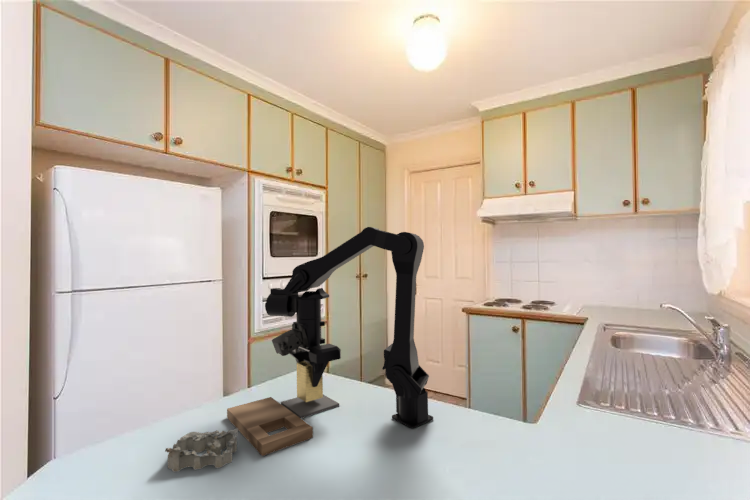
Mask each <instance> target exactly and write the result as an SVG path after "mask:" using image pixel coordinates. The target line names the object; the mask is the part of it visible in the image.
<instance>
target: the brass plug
mask: <svg viewBox="0 0 750 500" xmlns="http://www.w3.org/2000/svg"><path fill="white" fill-rule="evenodd" d="M323 379H324V378H323V374H322V377H321V379H320V381H319V383H318V386H317V387H313V386H312V381H311V374H310V366H309V364H308V363H306V362H305V361H302V362H298V363H297V362H296V397H298V398H300V399H301V400H303V401H305V402H309V401H312V400H316V399H319V398H322V397H323V395H324V394H323V393H324V389H323V387H324V386H323V383H324V382H323Z"/></svg>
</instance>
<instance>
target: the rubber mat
mask: <svg viewBox="0 0 750 500" xmlns="http://www.w3.org/2000/svg"><path fill="white" fill-rule="evenodd" d="M280 404H281V405H283V406H284V407H286V408H287V409H288V410H290V411H291V412H292V413H294V414H295V415H297V416H298V417H299V418H301V419H304V418H307V417H310V416H313V415H317V414H319V413H322V412H325V411H329V410H332V409H335V408H338V407H340V403H339V402H338V401H335V400H334V399H332V398H330V397H329V396H327V395H325V394H323V397H322V398H319V399H316V400H312V401H309V402H305V401H303V400H301V399H300V398H298V397H297V396H296V397H293V398H289V399H287V400H283V401H280Z"/></svg>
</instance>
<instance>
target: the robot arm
mask: <svg viewBox="0 0 750 500" xmlns="http://www.w3.org/2000/svg"><path fill="white" fill-rule="evenodd" d="M424 243H425V242H424V240H423V239H422V238H421V237H420V235H417V234H416V233H413V232H412V233H411V232H406V231H401V232H399V233H397V234H396V233H394V232H393V233H392V232H388V231H386V230H381V229H380V228H377V227H372V226H367V227H365V228H363V229H362V230H361V231H360V232H359V233H357V234H356V235H354V236H353V237H351V238H349V239H348V240H346V241H345V242H343V243H342V244H340V245H339V246H337V247H335V248H334V249H332V250H331V251H330V252H328V253H326V254H324V255H323V256H320V257H318V258H316V259H311V260H307V261H306V262H304V263H302V264H299V265H297V266H295V267H294V268H293V269H292V274H291V278H290V279H289V281H288V282H287V284H286V285H285V287H284V288H281V287H273V288H270V291H269V292H270V293H269V294H268V296H267V297H266V299H265V300H266V302H265V303H264V309H265V312H266V314H267V315H268V316H270V317H285V318H286V317H289V318H292V317H294V316H295V315H296V321H293V322H292V325H291V329H290V330H288V331H285V332H283V333H282V334H279V335H277V336H276V337H274V338H272V340H271V342H272V343H271V344H272V345H273V348H274V350H275V352H276V354H279V355H280V356H281V357H285V356H288V355H290V356H291V357H292V358H294V359H295V362H296V364H297V363H298V362H302V361H305V362H306V363H308V364H309V366H310V374H311V381H312V386H313V387H317V386H318V383H319V381H320V379H321V377H322V375H323V374H324V372H325V369H326V368H327V366H328V364H329V363H330V362H332V361H337V360H341V358H342V352H341V351H342V349H341V348H340V347H339V346H337V345H335V344H332V343H326V339H325V338H323V337H322V327H325V324H326V323H325V321H324V320H322V303H321V302H322V300H323V299H324V300H325V299H327V298H330V294H328V293H327V292H326V291H325V290H324V288H323V287H321V286H322V284H324V283H326V281H327V280H328V279H329V278H330V277H331V275H332V274H333V273H334V272H335V271H336V270H338V269H340V268H341V267H343V266H344V265H346V264H347V263H349V262H350V261H352V260H354V259H355V258H357V257H358V256H360V255H362V254H364V253H365V252H367V251H368V250H370V249H371V248H373V247H377V248H379V249H382V250H386V251H389V252H391V253H390V254H391V257H392V258H391V260H392V263H393V268H394V271H395V274H396V277H395V278H396V280H395V281H396V282H395V299H394V300H395V302H394V304H395V305H394V324H393V327H394V328H393V341H392V343H391V344H390V345H388V346H387V347H386V348H385V349H383V360H384V361H383V362H384V363H383V366H382V371H383V370H385V377H386V379H387V380H388V381H389V383H391V384H392V388H393V391H394V393H395V398H396V399H395V407H396V409H395V411H396V413H394V414H392V415H391V419H392V420H395V421H397V422H398V423H400V424H402V425H405V426H407V427H408V428H410V429H415V428H417V427H420V426H421V425H424V424H426V423H429V422H431V421H433V420H434V416H432V415H429V397H428V394H429V392H428V391H426V389H425V386H426V385H427V384H428V380H429V378H430V375H429V374H428V373H427V372H426V371H425V370H424V369H423V367H422V366H421V365H420V364H419V355H418V350H417V346H416V342H415V338H414V336H415V313H416V310H415V309H416V296H417V295H416V294H417V291H416V289H417V287H416V286H417V275H418V271H419V268H420V266H421V262H422V259H423V253H424V250H425V245H424ZM319 287H321V288H319ZM315 288H317V289H316V290H315V291H314V290H310V289H315ZM299 293H302V294H299Z"/></svg>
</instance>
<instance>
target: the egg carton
mask: <svg viewBox="0 0 750 500" xmlns="http://www.w3.org/2000/svg"><path fill="white" fill-rule="evenodd" d="M238 434H239V430H238V428H236V427H235V429H231V430H230V429H229V430H227V431H224V430H222V431H219V430H215V431H206V432H197V431H191V432H188V433H187V434H185V435H182V436H181V437H180V438H179V439H177V441H176V443H173V445H172V447H165V451H164V452H165V453H166V452H167V453H168V454H167V469H168V470H169V469H170V470H171V471H172V472H174V473H175V472H180V471H181V470H183V469H185V468H190V467H191V468H193V470H200V469H204V468H205V467H208V466H211V465H212V466H214V468H215V469H219V468H222V467H224V466H225V465H227V464H231V463H232V461H233V454H234V453H237V450H238V436H239V435H238ZM224 449H225V450H224ZM204 451H205V453H204V454H202V455H199V453H202V452H204Z"/></svg>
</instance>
